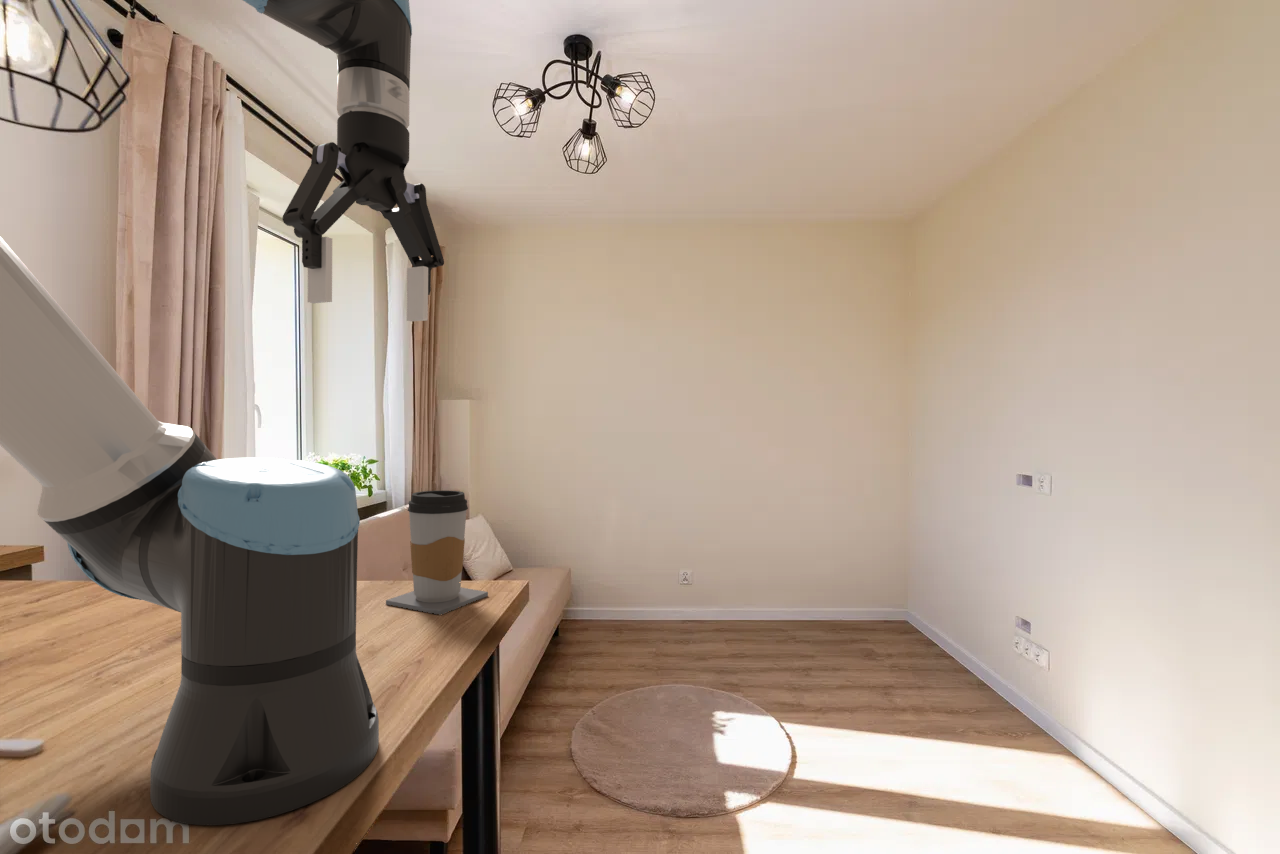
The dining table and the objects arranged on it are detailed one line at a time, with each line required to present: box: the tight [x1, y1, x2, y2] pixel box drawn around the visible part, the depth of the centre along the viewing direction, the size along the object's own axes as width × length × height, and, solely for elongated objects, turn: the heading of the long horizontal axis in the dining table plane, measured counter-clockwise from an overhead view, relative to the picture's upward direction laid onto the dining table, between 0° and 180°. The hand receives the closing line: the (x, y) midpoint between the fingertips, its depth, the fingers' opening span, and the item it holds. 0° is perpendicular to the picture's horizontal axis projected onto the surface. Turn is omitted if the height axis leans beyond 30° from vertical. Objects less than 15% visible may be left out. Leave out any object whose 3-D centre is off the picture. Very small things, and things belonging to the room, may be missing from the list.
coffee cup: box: [407, 489, 469, 603], centre depth 90 cm, size 8×8×15 cm
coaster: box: [385, 586, 489, 616], centre depth 91 cm, size 10×10×1 cm
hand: (372, 312), depth 71 cm, fingers open, 13 cm apart
